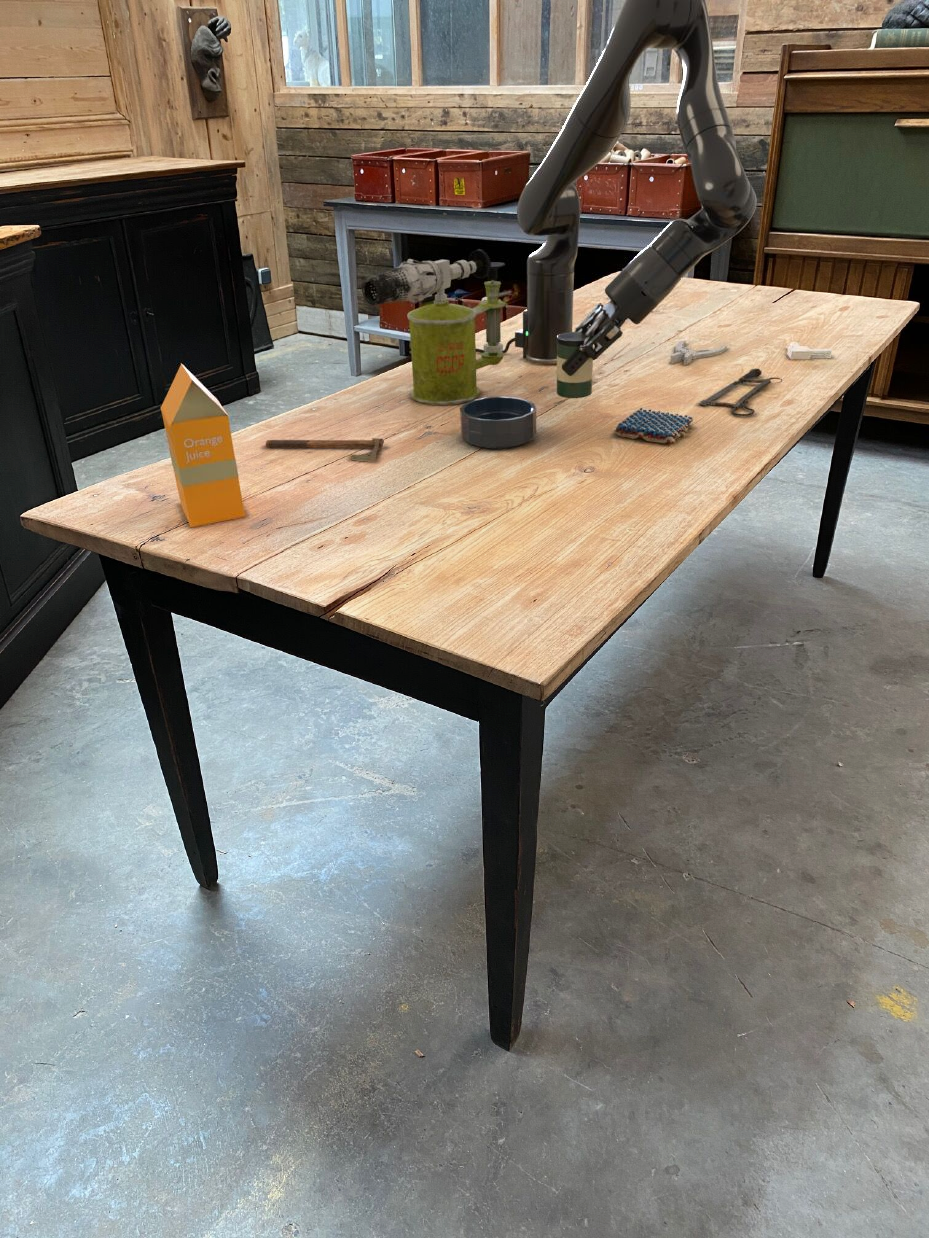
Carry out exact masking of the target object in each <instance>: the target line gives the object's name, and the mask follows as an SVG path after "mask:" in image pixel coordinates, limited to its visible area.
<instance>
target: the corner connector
mask: <svg viewBox="0 0 929 1238" xmlns="http://www.w3.org/2000/svg"><path fill="white" fill-rule="evenodd" d="M788 344H789V346H787V348H786V350H787V352H786V353H787V356H788V358H789V359H790V360H811V359H832V356H831V355H832V349H831V348H809V346H807V345H800V343H798V342H797V341H790V342H789V343H788Z"/></svg>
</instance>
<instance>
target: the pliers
mask: <svg viewBox="0 0 929 1238" xmlns="http://www.w3.org/2000/svg"><path fill="white" fill-rule="evenodd" d="M686 344H687V340H685V339H683V340H681V341H679V342H678V343H676V345H675V349H674V351H675V353H672V354H670V360H669V363H670V364H673V365H674V364H676V363H679V362H681V361H683V366H688V365H689V364H690V363H691V362H692V360H697V359H700V358H709V357H713V356H717V355H721V354H722V353H724V352H725V351H726V350H727V347H728V345H727V344H724V345H722V346H720V347H718V348H715V349H699V350H695V352H694V350H691V348H689V347H687V346H685V345H686Z"/></svg>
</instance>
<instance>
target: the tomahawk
mask: <svg viewBox="0 0 929 1238" xmlns="http://www.w3.org/2000/svg"><path fill="white" fill-rule="evenodd" d="M384 444H385V439H383V438H378V437H377V438H376V437H372V439H268V440H266V441H265V447H266V448H277V449H278V448H279V449H280V448H296V449H297V448H303V449H304V448H373V449H372V450H370V451H369V452H365V453H363V454H351V455H350V457H351V458H350V460H352V461H357V462H365V463H366V462H367V463H369V462H370V463H376V462H377V454H378V451H380V450H381V448H383V447H384Z"/></svg>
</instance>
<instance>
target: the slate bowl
mask: <svg viewBox="0 0 929 1238" xmlns="http://www.w3.org/2000/svg"><path fill="white" fill-rule="evenodd" d="M537 409H538V408H537V407H536V404H535V403H534V402H532V401H530V400H528V399H525V398H520V397H516V396H515V397H514V396H502V395H501V396H500V395H499V396H485V397H481V398H475V399H473V400H470V401H467V402H464V403H463V405H462V406H461V407H460V408H459V415H460V417H459V418H460V435H461V438H462V440H463V441H464V442H467V443H468V444H470V445H475V446H476V447H480V448H485V449H509V448H514V447H519V446H520V445H523V444H527V443H528V442H530V441H532V440H534V439H535V437H536V436H537V416H538V415H537V413H538V412H537Z"/></svg>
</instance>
